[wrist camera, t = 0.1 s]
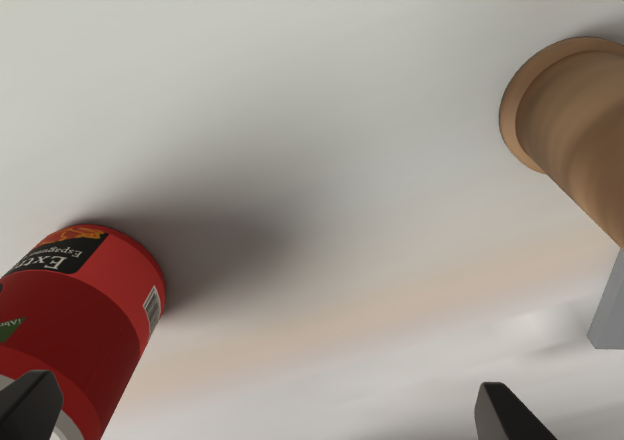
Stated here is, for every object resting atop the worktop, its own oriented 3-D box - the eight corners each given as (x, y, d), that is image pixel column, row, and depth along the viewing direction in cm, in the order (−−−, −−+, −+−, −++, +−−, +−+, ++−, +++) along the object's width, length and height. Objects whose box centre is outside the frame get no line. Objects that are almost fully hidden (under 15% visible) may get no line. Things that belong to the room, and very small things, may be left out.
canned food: (99, 195, 24) (-57, 346, 15) (198, 294, 27) (123, 473, 18) (11, 259, 26) (-171, 425, 17) (111, 343, 30) (4, 524, 20)
